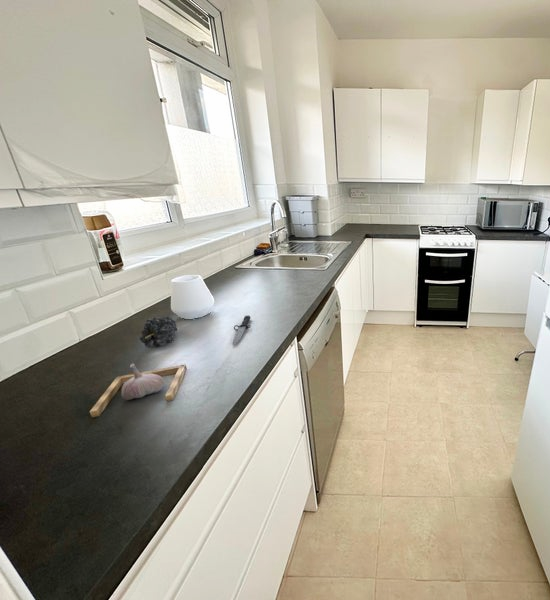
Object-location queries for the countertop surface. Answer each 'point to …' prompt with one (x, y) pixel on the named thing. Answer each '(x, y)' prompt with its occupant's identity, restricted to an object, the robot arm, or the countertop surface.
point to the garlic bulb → (141, 384)
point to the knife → (241, 329)
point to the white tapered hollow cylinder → (190, 297)
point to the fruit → (158, 331)
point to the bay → (120, 380)
